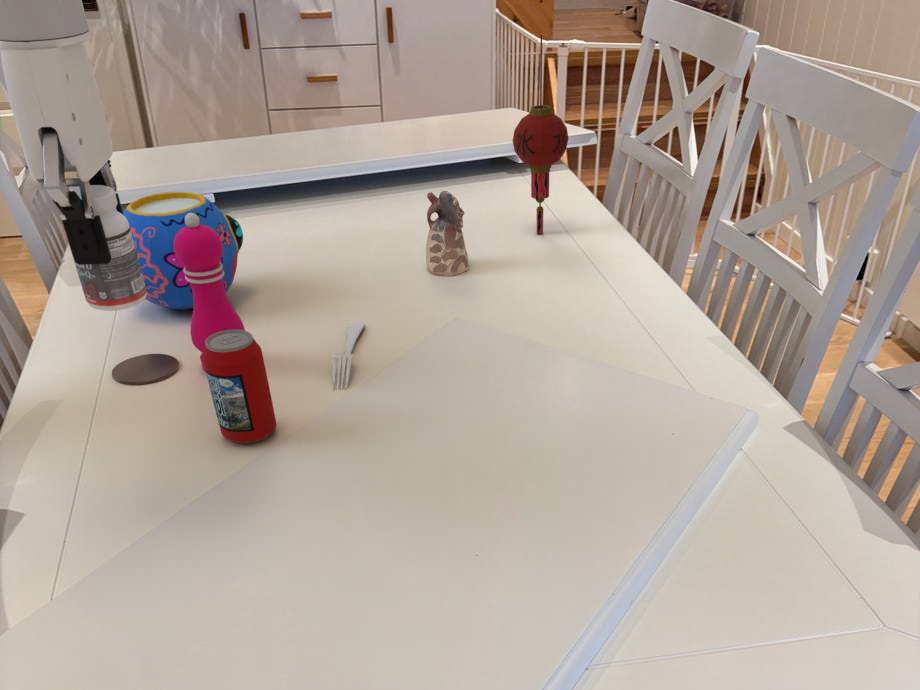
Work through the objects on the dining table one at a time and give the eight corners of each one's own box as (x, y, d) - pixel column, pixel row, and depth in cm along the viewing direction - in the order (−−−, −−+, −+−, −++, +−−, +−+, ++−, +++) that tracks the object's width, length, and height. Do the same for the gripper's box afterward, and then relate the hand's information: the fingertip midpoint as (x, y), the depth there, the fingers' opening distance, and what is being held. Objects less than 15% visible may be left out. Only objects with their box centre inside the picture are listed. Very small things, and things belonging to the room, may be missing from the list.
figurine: (469, 275, 149) (465, 196, 141) (425, 276, 149) (420, 198, 141) (469, 260, 154) (466, 183, 146) (427, 261, 155) (422, 185, 147)
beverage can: (211, 434, 112) (187, 340, 104) (257, 415, 115) (237, 322, 107) (242, 453, 108) (219, 357, 100) (288, 432, 111) (270, 337, 103)
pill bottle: (78, 300, 89) (44, 191, 82) (133, 285, 92) (104, 178, 85) (101, 317, 86) (67, 205, 79) (158, 302, 88) (129, 192, 82)
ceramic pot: (270, 294, 146) (252, 194, 136) (186, 334, 135) (159, 228, 125) (195, 275, 153) (172, 179, 144) (110, 311, 143) (79, 210, 133)
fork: (368, 340, 137) (366, 321, 135) (350, 389, 120) (348, 368, 118) (349, 341, 137) (347, 322, 135) (329, 389, 120) (326, 368, 118)
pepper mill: (189, 375, 125) (149, 221, 111) (213, 352, 130) (178, 203, 117) (238, 379, 123) (203, 223, 110) (260, 356, 128) (229, 205, 115)
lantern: (577, 231, 163) (583, 32, 143) (542, 246, 158) (544, 42, 138) (537, 221, 168) (538, 28, 148) (502, 235, 163) (499, 36, 143)
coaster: (105, 386, 123) (104, 384, 122) (121, 358, 129) (120, 355, 129) (172, 382, 123) (171, 380, 123) (184, 354, 130) (183, 351, 129)
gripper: (24, 6, 80) (87, 222, 92) (-51, 40, 67) (34, 286, 79) (111, 3, 80) (162, 219, 92) (52, 37, 67) (121, 283, 79)
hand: (102, 248), depth 85 cm, fingers closed on pill bottle, 5 cm apart
